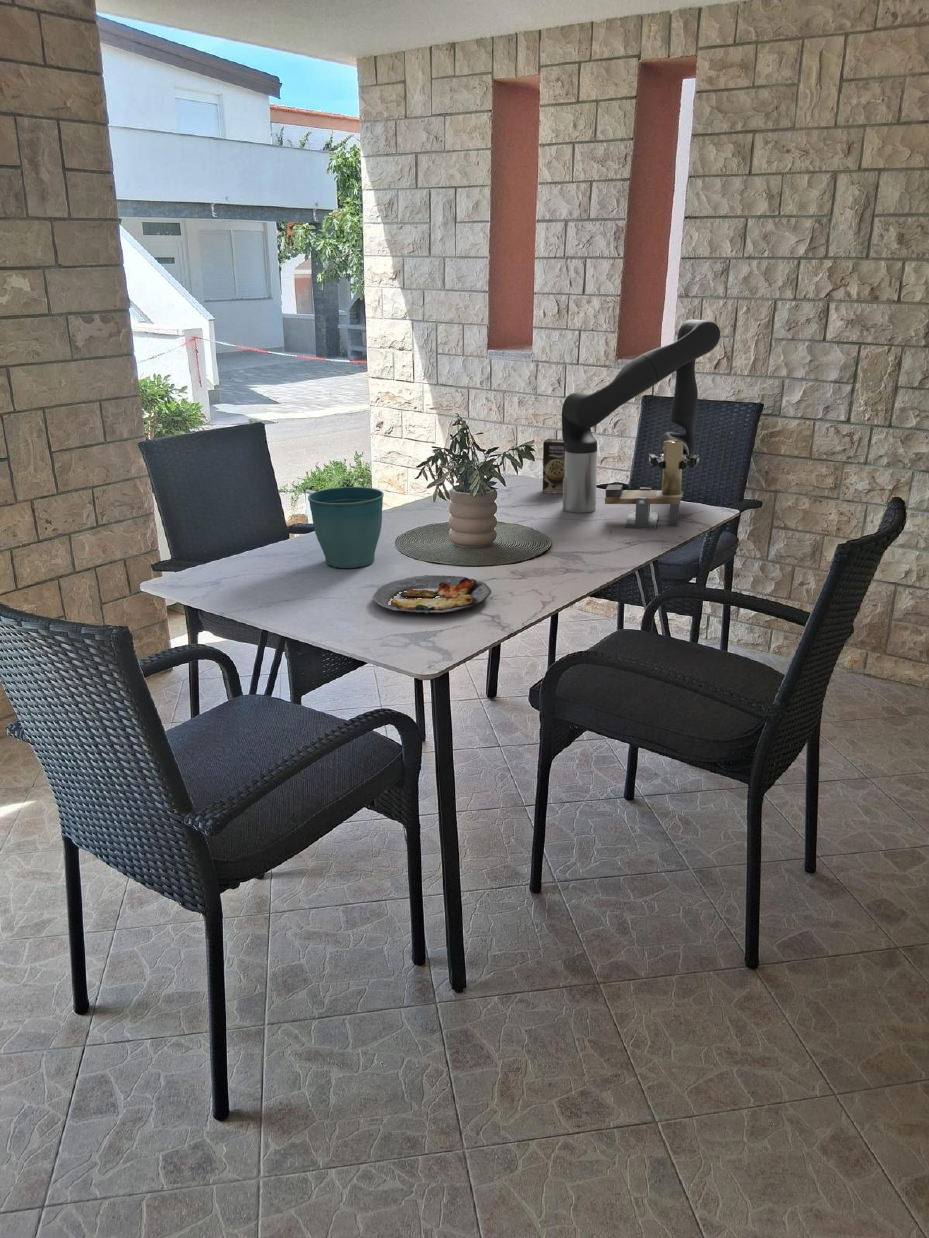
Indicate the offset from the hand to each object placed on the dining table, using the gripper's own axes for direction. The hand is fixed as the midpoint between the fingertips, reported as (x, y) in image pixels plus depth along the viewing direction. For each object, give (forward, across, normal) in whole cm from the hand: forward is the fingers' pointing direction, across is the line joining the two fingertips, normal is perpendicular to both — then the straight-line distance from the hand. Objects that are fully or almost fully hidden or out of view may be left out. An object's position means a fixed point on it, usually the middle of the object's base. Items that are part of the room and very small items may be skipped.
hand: (672, 465), depth 249 cm
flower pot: (+47, -75, +17) cm, 90 cm away
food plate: (+70, -47, +18) cm, 87 cm away
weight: (-2, 0, +8) cm, 8 cm away
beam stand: (-2, -5, +16) cm, 17 cm away
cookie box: (-36, -36, +16) cm, 53 cm away
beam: (-2, -7, +9) cm, 12 cm away
